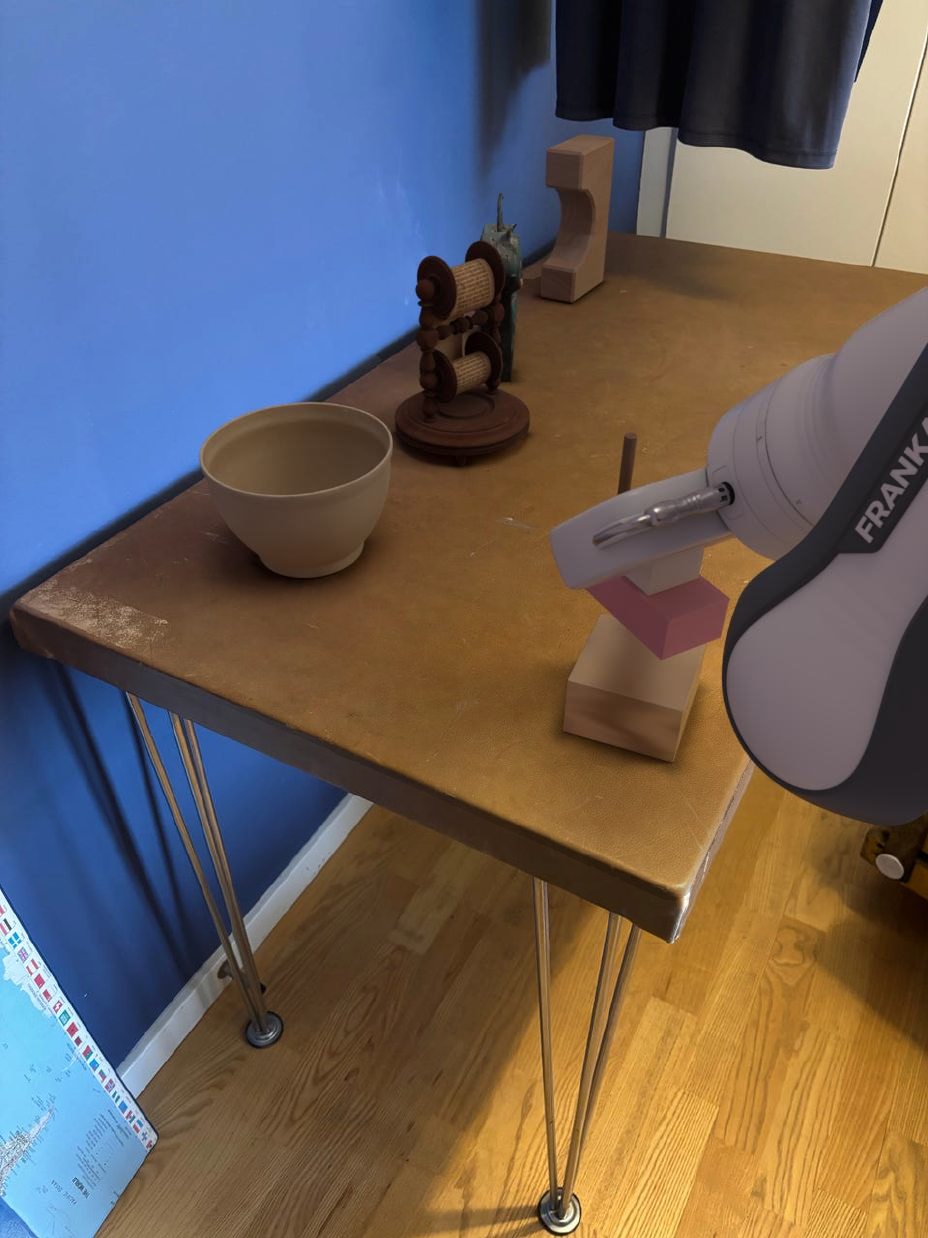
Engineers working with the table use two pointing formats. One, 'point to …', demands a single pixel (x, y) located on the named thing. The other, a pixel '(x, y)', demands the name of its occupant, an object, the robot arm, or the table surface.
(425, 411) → the scroll
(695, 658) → the birch block
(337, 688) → the table surface
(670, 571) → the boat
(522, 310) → the table surface
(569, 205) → the decorative block
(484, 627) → the table surface
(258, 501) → the planter bowl
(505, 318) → the ceramic cat
